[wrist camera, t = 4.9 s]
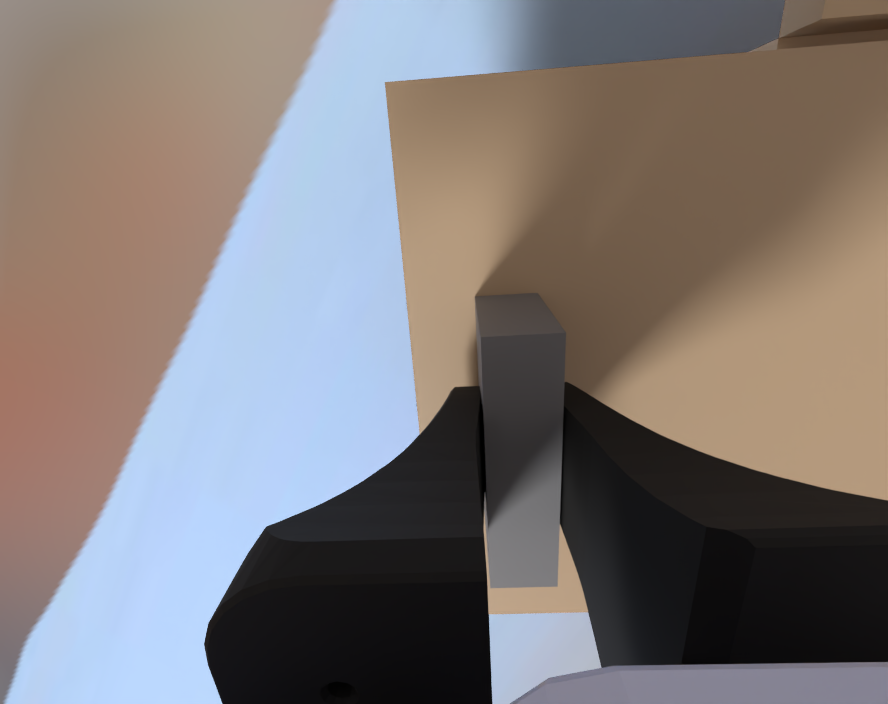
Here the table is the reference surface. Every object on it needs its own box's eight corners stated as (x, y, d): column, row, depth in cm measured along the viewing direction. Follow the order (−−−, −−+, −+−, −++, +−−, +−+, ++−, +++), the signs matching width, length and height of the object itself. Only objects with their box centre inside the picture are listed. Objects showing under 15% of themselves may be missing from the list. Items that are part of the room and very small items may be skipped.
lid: (924, 585, 14) (1072, 713, 11) (438, 596, 15) (432, 718, 12) (1165, 25, 9) (1610, -74, 5) (389, 89, 10) (351, 37, 6)
